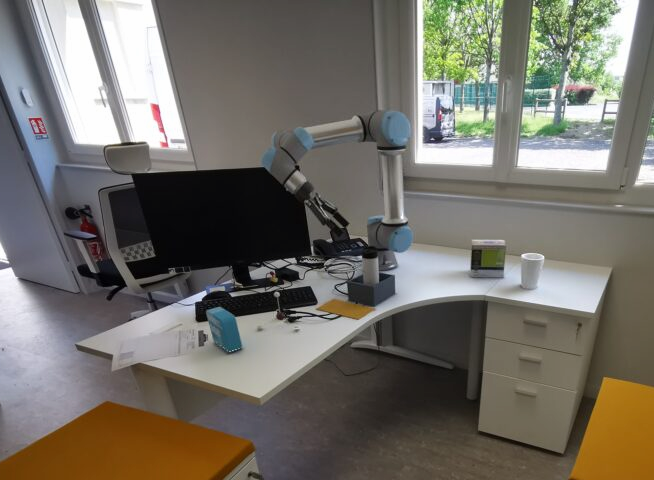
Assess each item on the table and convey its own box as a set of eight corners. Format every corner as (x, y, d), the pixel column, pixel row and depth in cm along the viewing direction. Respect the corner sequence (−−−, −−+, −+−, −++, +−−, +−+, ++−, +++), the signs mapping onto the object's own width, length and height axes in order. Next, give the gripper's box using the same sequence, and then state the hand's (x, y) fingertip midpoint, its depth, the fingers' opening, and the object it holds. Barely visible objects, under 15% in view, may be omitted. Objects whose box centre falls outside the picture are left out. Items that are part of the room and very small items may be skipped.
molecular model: (290, 315, 170) (284, 283, 163) (300, 331, 158) (295, 297, 152) (253, 322, 164) (246, 289, 158) (261, 339, 153) (254, 304, 146)
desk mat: (315, 309, 174) (315, 308, 174) (333, 299, 183) (333, 298, 182) (358, 319, 166) (358, 318, 166) (375, 309, 174) (374, 308, 174)
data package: (213, 342, 151) (204, 309, 144) (226, 338, 154) (218, 305, 147) (230, 354, 144) (221, 320, 137) (243, 350, 146) (235, 315, 140)
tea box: (502, 271, 212) (505, 239, 204) (503, 278, 204) (506, 245, 196) (469, 270, 213) (471, 238, 205) (469, 277, 205) (471, 244, 197)
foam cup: (541, 284, 197) (546, 254, 190) (537, 291, 190) (541, 261, 183) (520, 281, 200) (524, 252, 193) (515, 288, 193) (518, 258, 186)
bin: (348, 300, 182) (346, 281, 178) (370, 288, 193) (369, 270, 189) (374, 306, 177) (373, 287, 172) (395, 293, 188) (394, 275, 184)
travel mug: (382, 295, 187) (380, 246, 176) (376, 301, 181) (373, 251, 171) (368, 293, 188) (365, 245, 178) (361, 299, 183) (358, 249, 172)
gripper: (302, 189, 177) (343, 229, 185) (284, 201, 156) (332, 245, 164) (314, 174, 174) (355, 215, 182) (298, 185, 153) (345, 231, 161)
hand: (344, 230), depth 173 cm, fingers open, 13 cm apart
